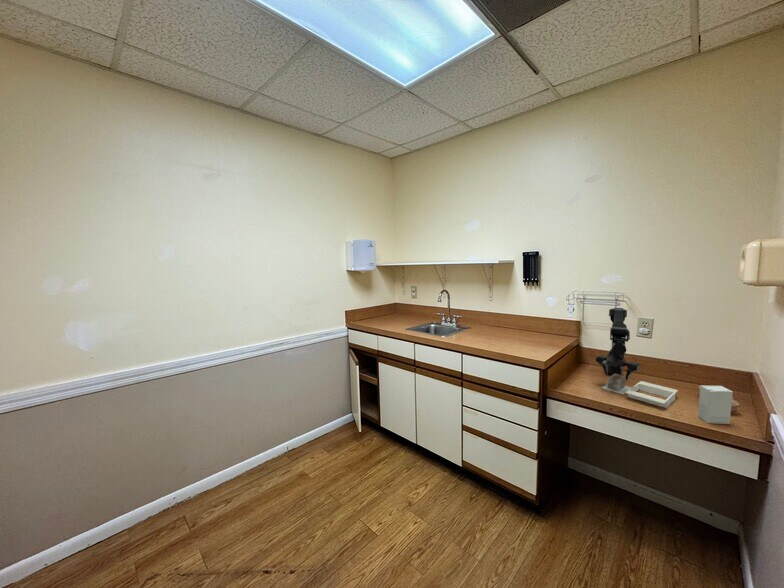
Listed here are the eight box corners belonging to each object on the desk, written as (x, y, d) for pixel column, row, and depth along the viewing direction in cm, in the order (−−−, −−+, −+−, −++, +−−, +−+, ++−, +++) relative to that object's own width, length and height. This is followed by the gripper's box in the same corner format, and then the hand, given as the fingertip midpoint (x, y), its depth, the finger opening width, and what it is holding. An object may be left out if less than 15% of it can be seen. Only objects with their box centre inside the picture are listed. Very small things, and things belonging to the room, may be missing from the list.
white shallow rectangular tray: (624, 399, 157) (624, 392, 156) (640, 387, 170) (640, 380, 169) (663, 410, 144) (664, 403, 144) (677, 396, 157) (678, 390, 157)
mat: (601, 388, 170) (601, 387, 170) (610, 382, 177) (610, 381, 177) (622, 394, 162) (622, 393, 162) (631, 388, 169) (631, 387, 168)
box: (607, 388, 169) (608, 377, 168) (614, 383, 174) (614, 373, 173) (618, 391, 165) (618, 380, 164) (624, 386, 170) (625, 376, 169)
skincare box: (718, 417, 137) (721, 385, 135) (730, 425, 131) (734, 391, 129) (696, 416, 139) (699, 384, 137) (707, 423, 133) (710, 390, 131)
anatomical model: (742, 417, 137) (743, 406, 136) (711, 412, 142) (712, 402, 141) (719, 396, 157) (720, 386, 156) (693, 392, 162) (694, 383, 161)
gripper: (591, 348, 169) (590, 376, 171) (633, 357, 154) (631, 387, 156) (600, 344, 175) (599, 371, 177) (641, 352, 160) (639, 381, 162)
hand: (616, 377), depth 168 cm, fingers open, 9 cm apart
